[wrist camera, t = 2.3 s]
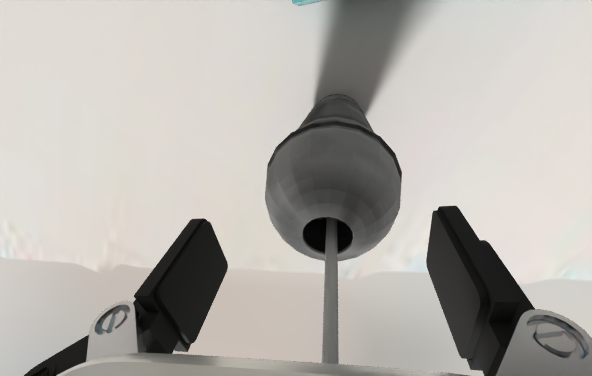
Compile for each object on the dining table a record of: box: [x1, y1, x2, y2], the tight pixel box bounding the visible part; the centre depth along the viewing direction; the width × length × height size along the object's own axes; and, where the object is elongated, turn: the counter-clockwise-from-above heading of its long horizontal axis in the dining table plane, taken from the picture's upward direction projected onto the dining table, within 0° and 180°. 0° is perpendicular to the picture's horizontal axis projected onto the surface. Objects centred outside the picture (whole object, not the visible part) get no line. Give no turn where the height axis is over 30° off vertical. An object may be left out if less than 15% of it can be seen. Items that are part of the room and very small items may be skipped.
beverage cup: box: [265, 94, 402, 364], centre depth 15 cm, size 7×7×20 cm
